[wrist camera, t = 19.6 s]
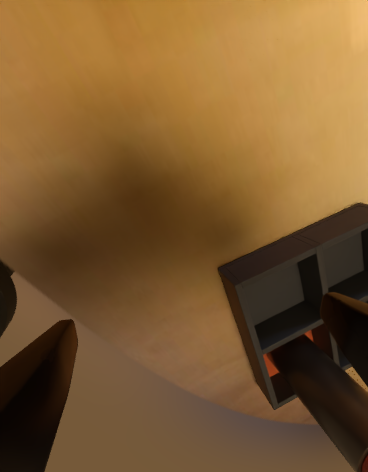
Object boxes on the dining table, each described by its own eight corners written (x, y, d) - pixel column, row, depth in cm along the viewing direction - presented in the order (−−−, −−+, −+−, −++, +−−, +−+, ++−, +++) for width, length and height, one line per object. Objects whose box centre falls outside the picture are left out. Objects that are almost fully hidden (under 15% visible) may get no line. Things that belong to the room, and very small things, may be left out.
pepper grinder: (257, 350, 27) (375, 510, 15) (286, 318, 26) (432, 454, 14) (281, 368, 28) (405, 523, 16) (309, 337, 28) (456, 473, 16)
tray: (256, 382, 29) (274, 410, 26) (217, 268, 23) (234, 286, 20) (369, 321, 31) (398, 340, 28) (358, 202, 25) (394, 209, 22)
